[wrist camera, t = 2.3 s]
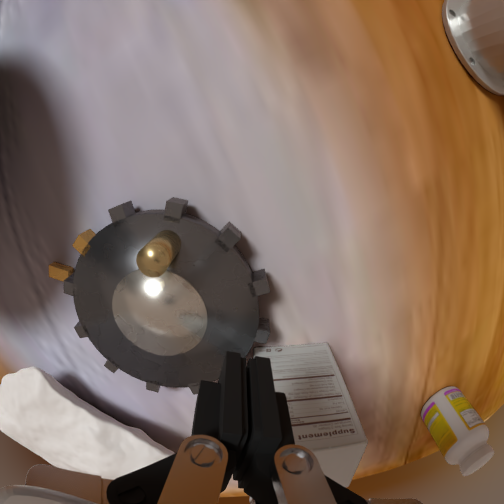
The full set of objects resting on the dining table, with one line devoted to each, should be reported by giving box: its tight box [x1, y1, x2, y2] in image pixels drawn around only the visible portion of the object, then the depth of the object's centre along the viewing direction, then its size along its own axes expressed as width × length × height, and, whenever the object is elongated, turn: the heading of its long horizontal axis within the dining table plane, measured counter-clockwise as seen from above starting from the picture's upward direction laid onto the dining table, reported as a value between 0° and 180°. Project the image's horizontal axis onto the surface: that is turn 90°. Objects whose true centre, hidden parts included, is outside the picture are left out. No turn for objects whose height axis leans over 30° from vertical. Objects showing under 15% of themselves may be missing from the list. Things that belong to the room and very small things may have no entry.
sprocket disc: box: [64, 197, 270, 394], centre depth 22 cm, size 18×18×6 cm
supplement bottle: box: [421, 386, 494, 476], centre depth 25 cm, size 7×7×13 cm
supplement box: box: [253, 343, 368, 487], centre depth 22 cm, size 7×7×13 cm
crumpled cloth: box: [0, 367, 175, 480], centre depth 27 cm, size 24×35×9 cm
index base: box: [49, 262, 73, 282], centre depth 24 cm, size 14×5×1 cm, turn 76°
